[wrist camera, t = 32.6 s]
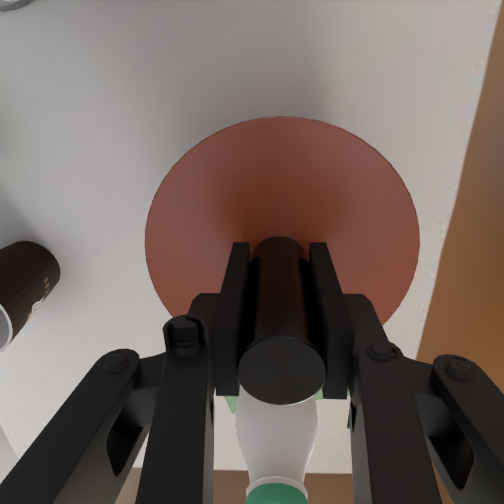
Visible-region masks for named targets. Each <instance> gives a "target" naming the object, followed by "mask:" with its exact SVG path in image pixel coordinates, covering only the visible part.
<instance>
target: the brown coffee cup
mask: <svg viewBox="0 0 504 504" xmlns="http://www.w3.org/2000/svg"><path fill="white" fill-rule="evenodd" d="M59 278H60V268H59V264H58V262H57V260H56V259H55V257H54V256H53V255H52V254H51V253H50V252H49V251H48V250H47V249H45V248H44V247H42V246H40V245H39V244H36V243H33V242H28V241H21V242H16V243H14V244H11V245H9V246H7V247H4V248H2V249H0V353H1V352H2V351H3V350H5V349H6V348H7V347H8V345H9V344H10V343H11V341H12V340H13V339H14V338H15V336H16V335H17V334H18V333H19V331H20V330H21V329H22V327H23V326H24V325H25V324H26V322H27V321H28V320H29V318H30V317H31V316H32V315H33V313H34V312H35V311H36V309H37V308H38V307H39V306H40V304H41V303H42V302H43V301H44V299H45V298H46V297H47V295H48V294H49V293H50V292H51V290H52V289H53V288H54V286H55V285H56V284H57V283H58V281H59Z"/></svg>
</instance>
